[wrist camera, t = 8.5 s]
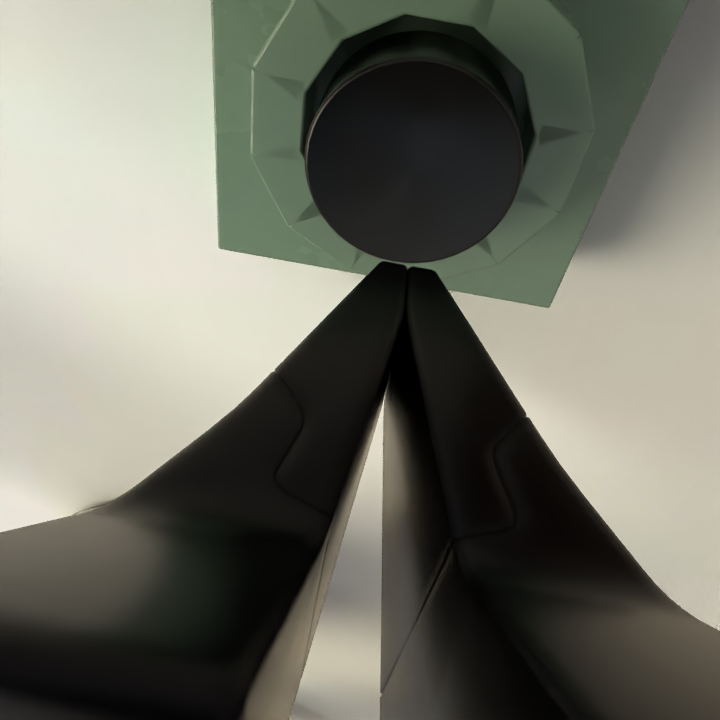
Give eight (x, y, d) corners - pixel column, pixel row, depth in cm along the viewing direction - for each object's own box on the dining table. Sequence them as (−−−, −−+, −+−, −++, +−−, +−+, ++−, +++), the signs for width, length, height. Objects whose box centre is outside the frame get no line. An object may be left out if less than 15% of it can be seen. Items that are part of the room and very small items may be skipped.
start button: (546, 50, 12) (556, 82, 11) (485, 238, 15) (487, 280, 14) (327, 10, 12) (312, 36, 11) (310, 207, 15) (296, 246, 14)
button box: (697, -124, 13) (776, -93, 10) (540, 258, 20) (556, 349, 17) (240, -210, 13) (169, -209, 10) (240, 203, 20) (199, 285, 17)
